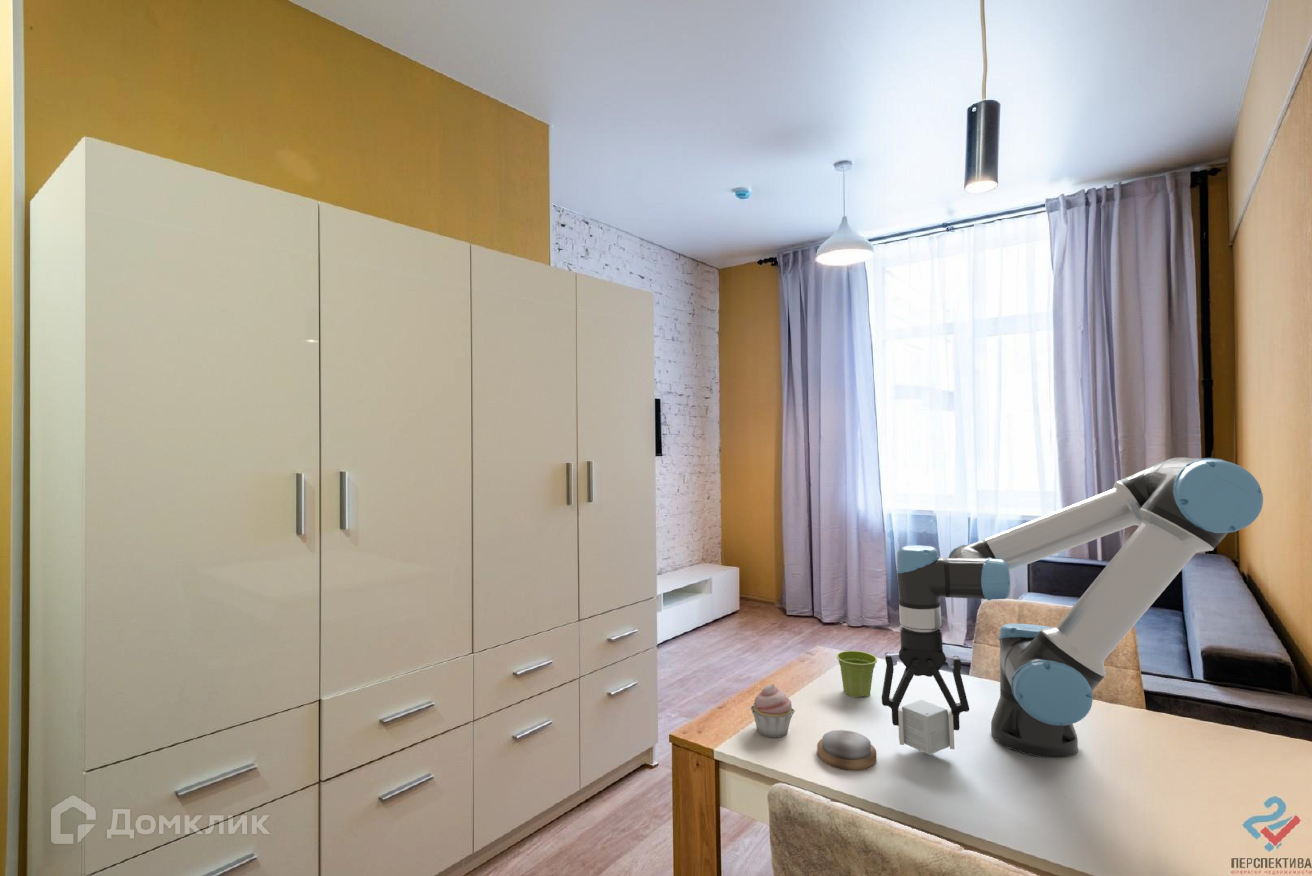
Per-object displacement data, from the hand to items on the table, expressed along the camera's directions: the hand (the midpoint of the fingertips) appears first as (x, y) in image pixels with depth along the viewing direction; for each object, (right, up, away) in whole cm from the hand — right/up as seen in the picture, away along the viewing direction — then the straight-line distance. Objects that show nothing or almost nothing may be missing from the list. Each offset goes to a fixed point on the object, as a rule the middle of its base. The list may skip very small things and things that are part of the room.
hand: (926, 743), depth 126 cm
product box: (0, -1, 0) cm, 1 cm away
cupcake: (-28, -3, +11) cm, 30 cm away
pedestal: (-16, -2, 0) cm, 16 cm away
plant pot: (-4, -2, +31) cm, 31 cm away
